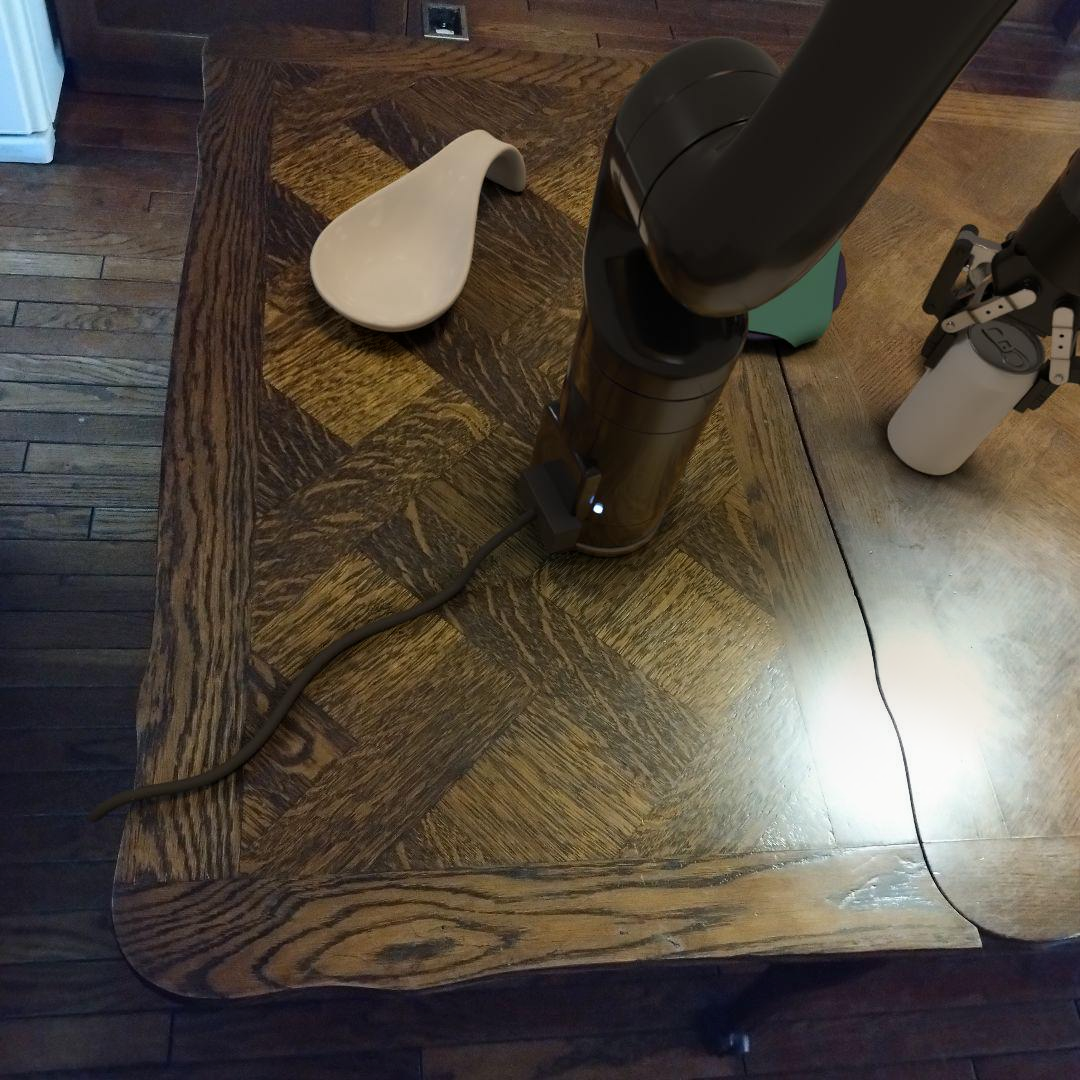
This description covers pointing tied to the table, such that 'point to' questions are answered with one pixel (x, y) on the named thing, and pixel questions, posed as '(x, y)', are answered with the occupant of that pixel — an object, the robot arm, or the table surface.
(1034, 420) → the table surface
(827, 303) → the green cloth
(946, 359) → the can
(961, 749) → the table surface
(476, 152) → the spoon rest
